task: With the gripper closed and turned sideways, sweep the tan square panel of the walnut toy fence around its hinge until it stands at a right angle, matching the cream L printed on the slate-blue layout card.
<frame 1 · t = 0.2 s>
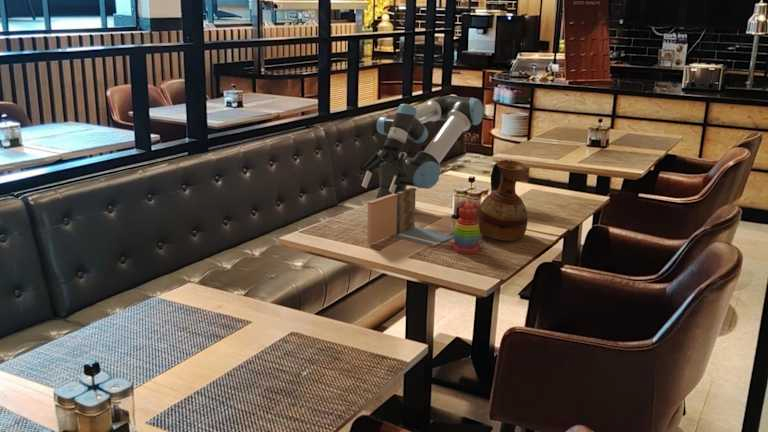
hand: (377, 189, 292), 15 cm above the table, tool tilted 35°, fingers open, 13 cm apart
ceramic pitcher: (500, 236, 286), on the table
layout card: (396, 234, 286), on the table
tan square panel: (382, 218, 277), point 9 cm above the table, hinge at 0.0°
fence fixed: (404, 210, 288), on the layout card
stacking bear: (466, 250, 271), on the table
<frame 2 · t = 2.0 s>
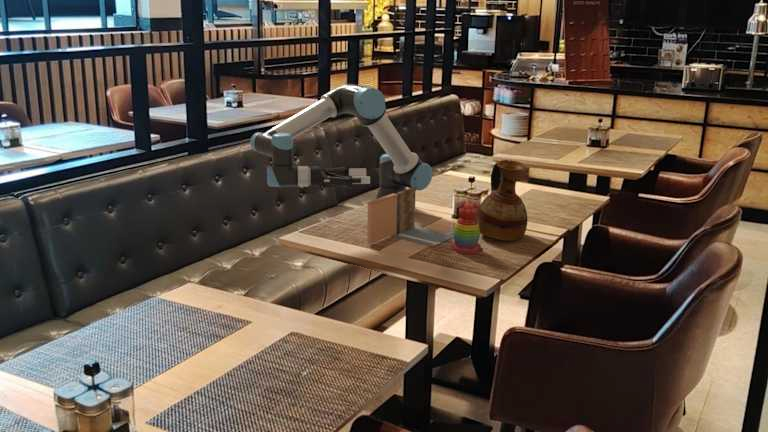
hand: (368, 175, 275), 24 cm above the table, tool horizontal, fingers open, 12 cm apart
nothing on the table moved.
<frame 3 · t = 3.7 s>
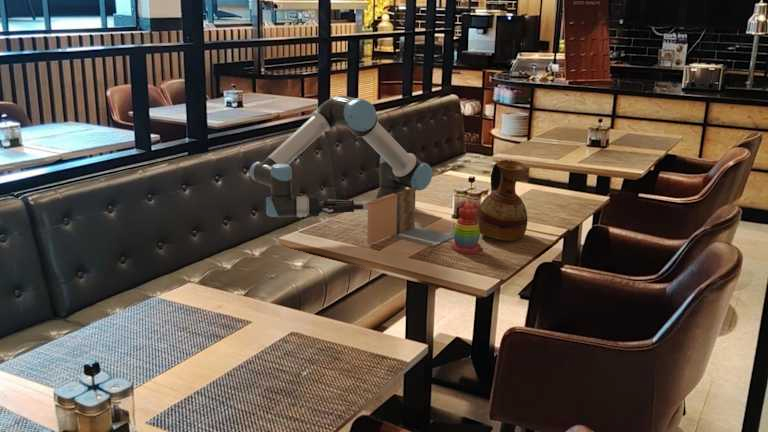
hand: (371, 205, 278), 13 cm above the table, tool horizontal, fingers closed
nothing on the table moved.
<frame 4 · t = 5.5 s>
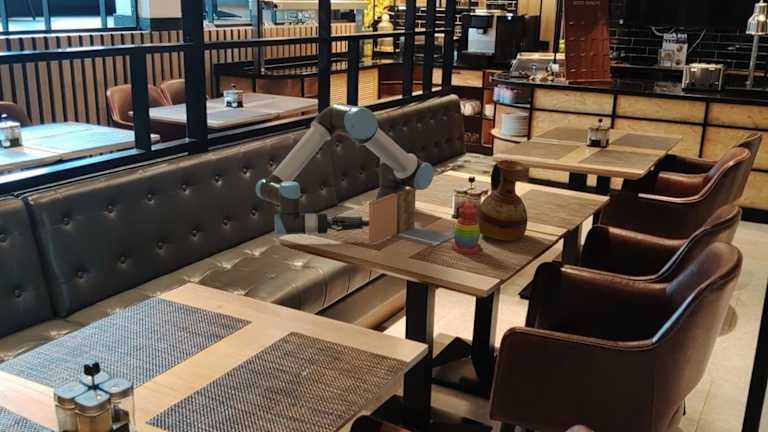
hand: (379, 222, 277), 7 cm above the table, tool horizontal, fingers closed
tan square panel: (383, 218, 276), point 9 cm above the table, hinge at 2.3°, touching gripper
everything else where it was.
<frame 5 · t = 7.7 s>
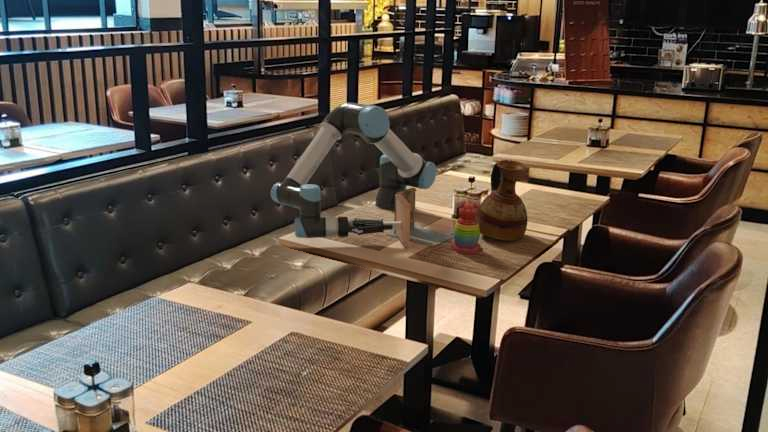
hand: (400, 225, 274), 7 cm above the table, tool horizontal, fingers closed
tan square panel: (402, 220, 275), point 9 cm above the table, hinge at 49.3°, touching gripper
everything else where it was.
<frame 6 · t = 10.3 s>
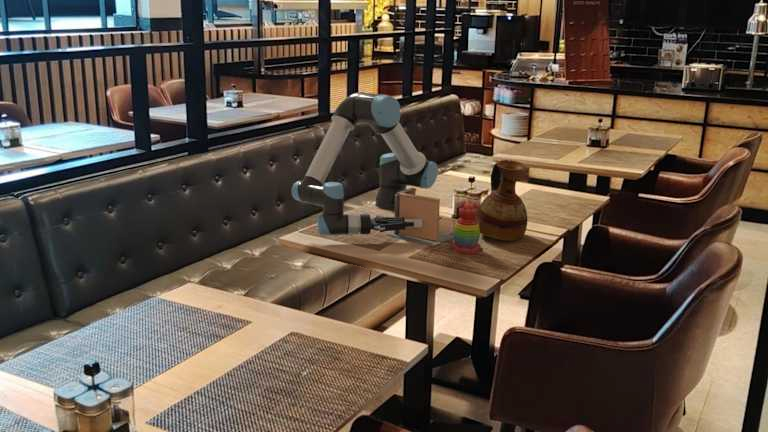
hand: (421, 223, 278), 7 cm above the table, tool horizontal, fingers closed
tan square panel: (418, 216, 279), point 9 cm above the table, hinge at 98.3°, touching gripper
everything else where it was.
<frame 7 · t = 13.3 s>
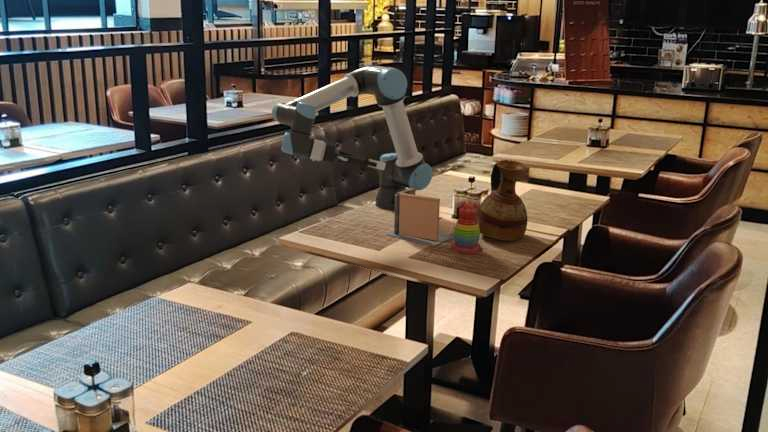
hand: (384, 166, 277), 27 cm above the table, tool horizontal, fingers closed
tan square panel: (418, 216, 279), point 9 cm above the table, hinge at 98.3°
everything else where it was.
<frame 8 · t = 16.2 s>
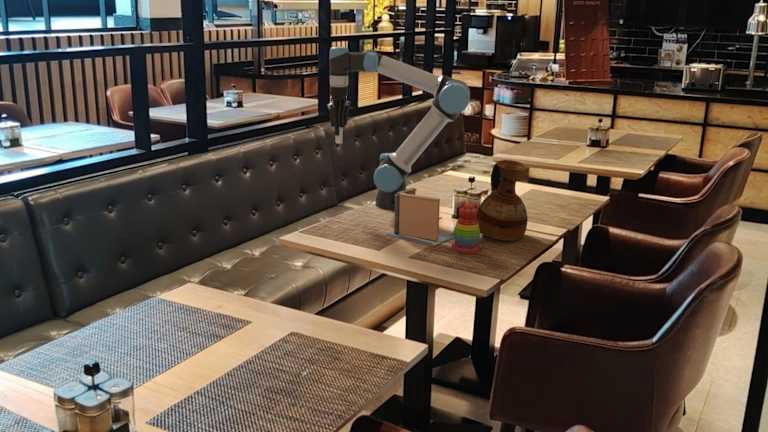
hand: (339, 142, 307), 29 cm above the table, tool pointing down, fingers closed
nothing on the table moved.
at the end: tan square panel at +98° (first picture: +0°); stacking bear moved 0.2 cm from its start; ceramic pitcher moved 0.2 cm from its start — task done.
